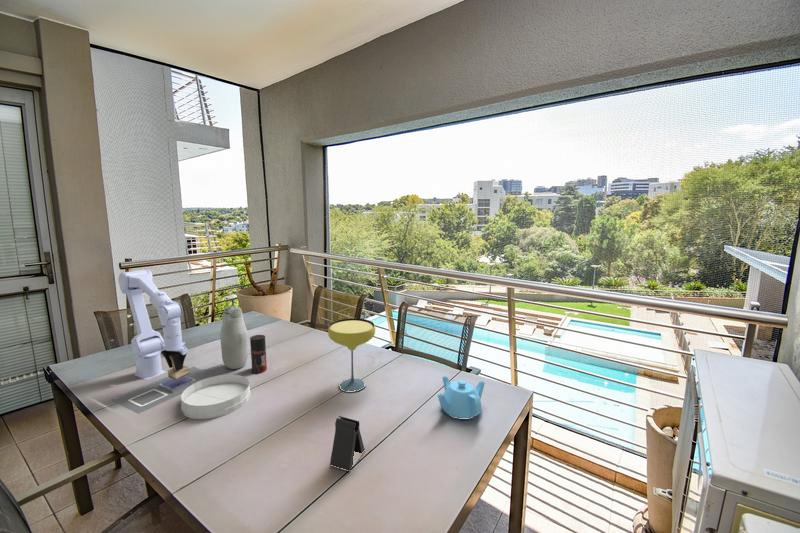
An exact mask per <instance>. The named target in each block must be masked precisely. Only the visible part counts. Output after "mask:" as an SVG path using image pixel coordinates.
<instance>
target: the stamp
mask: <svg viewBox="0 0 800 533" xmlns="http://www.w3.org/2000/svg"><path fill="white" fill-rule="evenodd" d="M169 357H170V359H171V361H172V366H173V367H172V368H169V369H168V370H167V375H168V376H167V377H170V378H172V379H175V380H178V379H180V378H182V377H184V376H186V375H188V374H189V368H190V367H188V366H185V365H183V368H182V369H180V370H178V371H177V370H176V369H175V365H174V361H173V359H172V358H171V356H169Z"/></svg>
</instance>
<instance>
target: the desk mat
mask: <svg viewBox="0 0 800 533" xmlns="http://www.w3.org/2000/svg"><path fill="white" fill-rule="evenodd" d="M188 368H189V374H188V375H186V376H188V377H190V378H193V379H196V382H198V381H201V380H203V379H207V378H210V377H214V376H219V374H216V373H213V372H211V371H207V370H204V369H202V368H200V367H199V368H198V367H196V366H192V367H188ZM170 379H172V378H170V377H169V376H167V377H164V378H161V379H160V380H157V381H155V382H152V383H150V384H147V385H143V386H142V387H140V388H137V389H135V390H131V391H129V392H126V393H125V394H121V395H120V396H117V397H115V398H112V399H111V401H112V402H114V403H117V404H119V405H120V406H123V407H125V408H126V409H129V410H131V411H132V412H135V413H136V414H141V413H143V412H145V411H148V410H150V409H153V408H154V407H156V406H158V405H160V404H163V403H165V402H167V401H170V400H171V399H173V398H175V397H176V398H177V397H178V396H181V395H182V393H183V391H184V390H185V389H187V388H188V387H189V386H191V385H189V386H187V387H185V388H183V389H180V390H178V391H176V392H174V393H172V392H169V391H167V390H164V389H162V388H160V387H159V384H160V383H163V382H165V381H168V380H170Z"/></svg>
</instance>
